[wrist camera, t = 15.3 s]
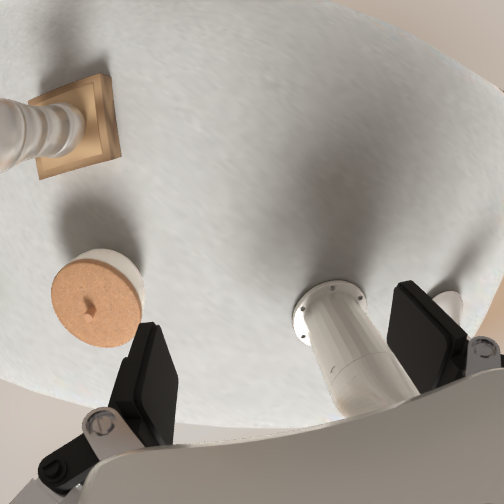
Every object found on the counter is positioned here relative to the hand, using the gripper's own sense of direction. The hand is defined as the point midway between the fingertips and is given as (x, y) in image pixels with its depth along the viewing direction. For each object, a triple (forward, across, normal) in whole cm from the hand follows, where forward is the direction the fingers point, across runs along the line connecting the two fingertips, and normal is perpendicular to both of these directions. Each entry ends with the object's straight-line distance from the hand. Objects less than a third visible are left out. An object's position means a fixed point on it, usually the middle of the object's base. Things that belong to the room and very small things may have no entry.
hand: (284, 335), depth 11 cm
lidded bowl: (+31, +20, +10) cm, 38 cm away
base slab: (+30, +20, -12) cm, 38 cm away
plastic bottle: (+26, +20, -12) cm, 35 cm away
